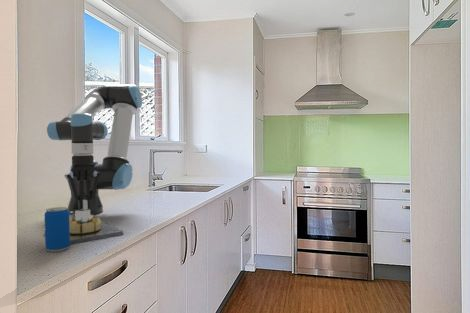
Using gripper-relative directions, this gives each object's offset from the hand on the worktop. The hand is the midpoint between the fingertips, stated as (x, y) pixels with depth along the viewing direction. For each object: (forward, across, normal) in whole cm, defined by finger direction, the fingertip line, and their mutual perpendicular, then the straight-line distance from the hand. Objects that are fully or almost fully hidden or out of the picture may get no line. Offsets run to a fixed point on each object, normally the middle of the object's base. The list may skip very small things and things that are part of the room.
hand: (84, 217), depth 132 cm
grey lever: (+2, -5, -6) cm, 8 cm away
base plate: (+4, -5, -12) cm, 13 cm away
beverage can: (+4, -18, -24) cm, 30 cm away
